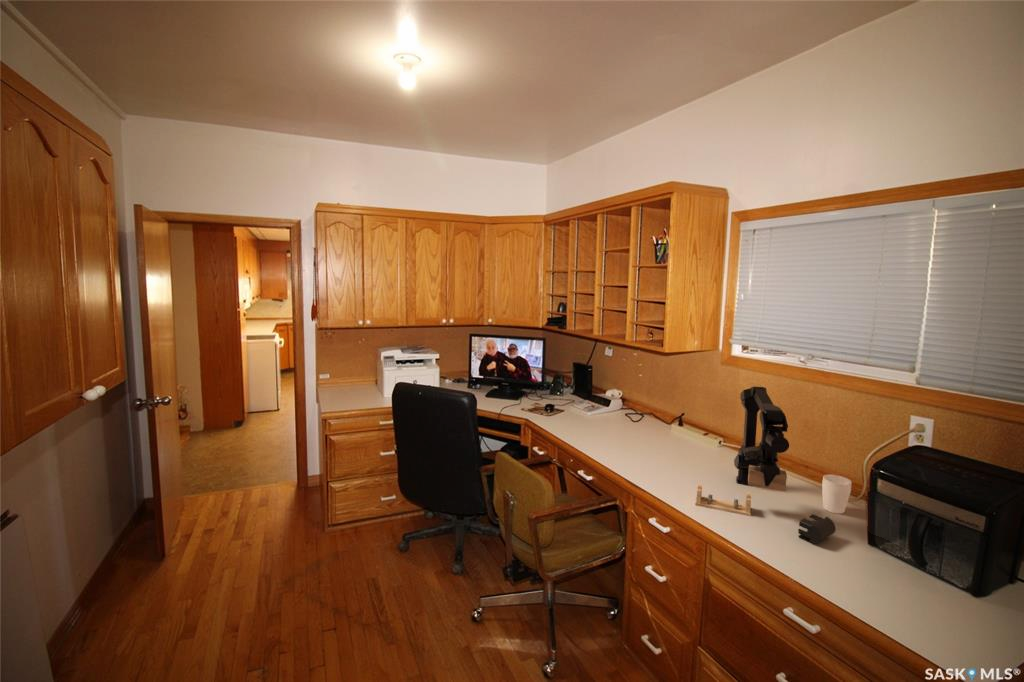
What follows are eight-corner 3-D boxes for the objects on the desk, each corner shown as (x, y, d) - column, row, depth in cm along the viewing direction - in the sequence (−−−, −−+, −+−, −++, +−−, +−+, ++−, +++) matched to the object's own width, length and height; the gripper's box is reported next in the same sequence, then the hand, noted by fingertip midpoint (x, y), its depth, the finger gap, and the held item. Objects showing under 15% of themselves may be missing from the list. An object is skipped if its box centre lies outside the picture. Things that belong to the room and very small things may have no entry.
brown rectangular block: (747, 479, 184) (749, 465, 183) (783, 485, 179) (785, 470, 178) (748, 485, 179) (749, 470, 178) (785, 491, 174) (786, 475, 173)
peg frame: (696, 497, 191) (697, 483, 190) (750, 507, 183) (751, 493, 182) (695, 504, 184) (696, 490, 183) (750, 516, 176) (752, 501, 176)
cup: (816, 509, 182) (819, 479, 180) (822, 501, 188) (826, 472, 186) (844, 518, 176) (848, 487, 174) (850, 509, 182) (854, 479, 180)
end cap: (819, 548, 157) (821, 529, 156) (797, 538, 163) (798, 519, 162) (834, 539, 162) (837, 520, 161) (812, 529, 168) (814, 511, 167)
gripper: (744, 431, 188) (741, 469, 191) (746, 447, 171) (742, 489, 174) (776, 435, 184) (773, 474, 186) (782, 452, 167) (778, 495, 169)
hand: (766, 482), depth 179 cm, fingers closed on brown rectangular block, 5 cm apart
